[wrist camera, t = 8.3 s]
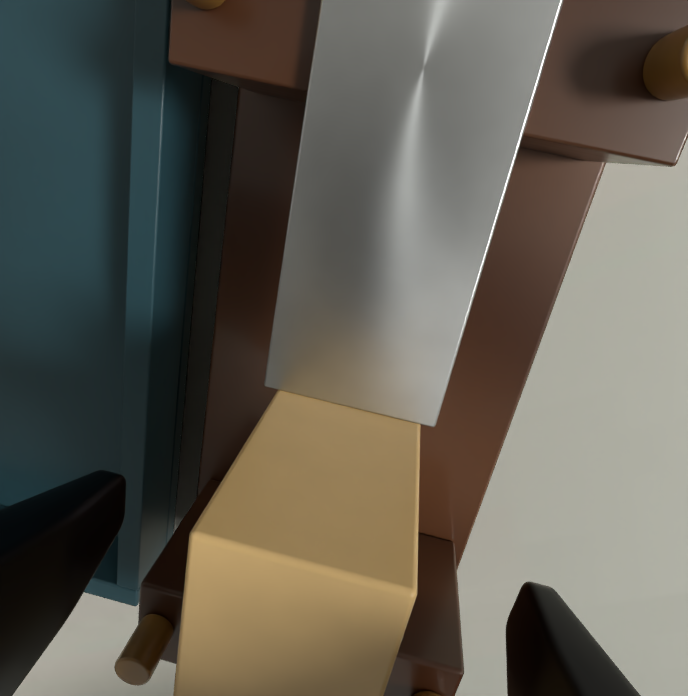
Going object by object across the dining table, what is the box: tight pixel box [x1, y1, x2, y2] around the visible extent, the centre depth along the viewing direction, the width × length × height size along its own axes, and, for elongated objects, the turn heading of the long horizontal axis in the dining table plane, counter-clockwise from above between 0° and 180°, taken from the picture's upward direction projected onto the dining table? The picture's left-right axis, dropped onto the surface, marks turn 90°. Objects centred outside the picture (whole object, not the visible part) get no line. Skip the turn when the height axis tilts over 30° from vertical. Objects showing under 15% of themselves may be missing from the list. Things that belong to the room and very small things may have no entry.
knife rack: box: [115, 0, 688, 696], centre depth 9 cm, size 17×7×6 cm, turn 169°
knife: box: [173, 0, 564, 696], centre depth 6 cm, size 16×3×3 cm, turn 169°
